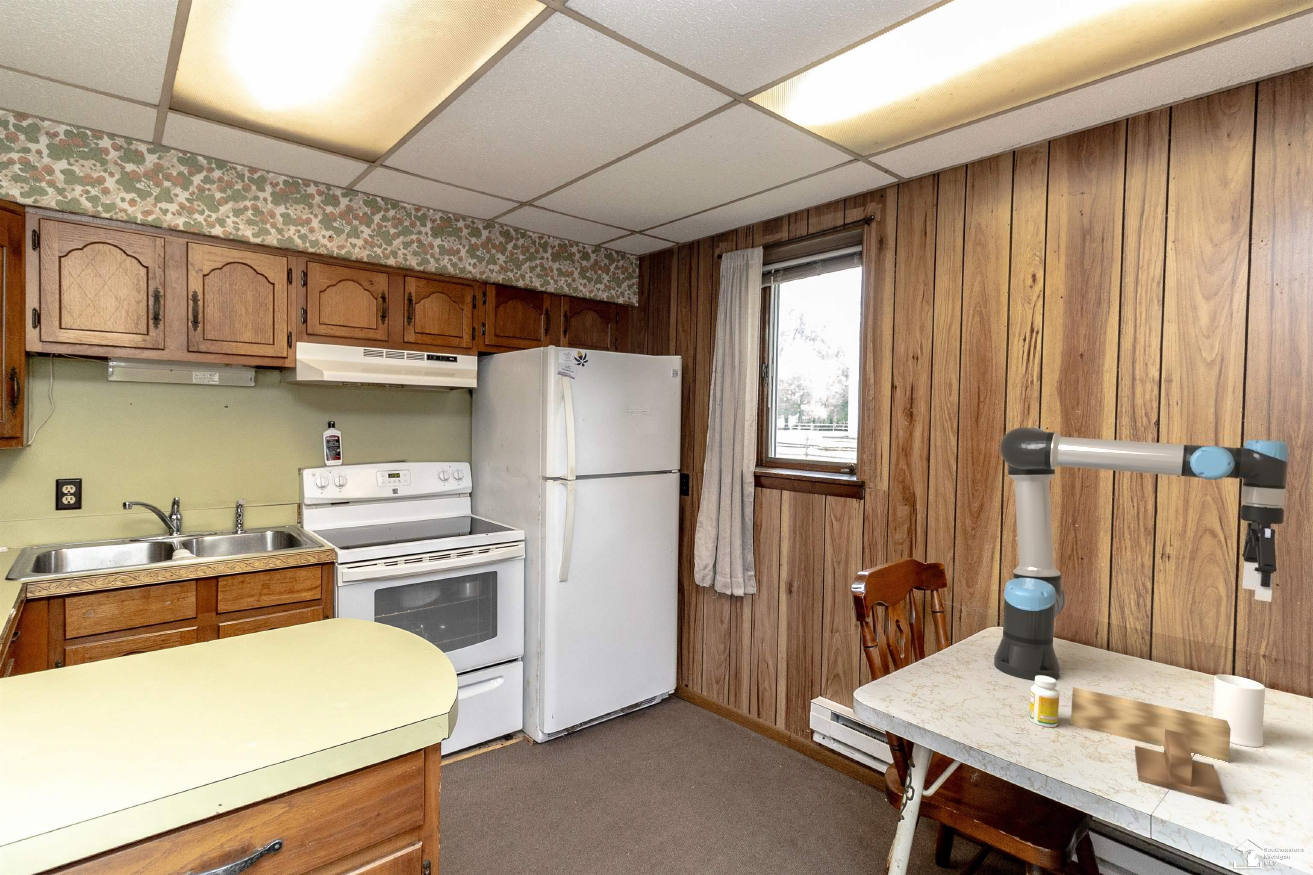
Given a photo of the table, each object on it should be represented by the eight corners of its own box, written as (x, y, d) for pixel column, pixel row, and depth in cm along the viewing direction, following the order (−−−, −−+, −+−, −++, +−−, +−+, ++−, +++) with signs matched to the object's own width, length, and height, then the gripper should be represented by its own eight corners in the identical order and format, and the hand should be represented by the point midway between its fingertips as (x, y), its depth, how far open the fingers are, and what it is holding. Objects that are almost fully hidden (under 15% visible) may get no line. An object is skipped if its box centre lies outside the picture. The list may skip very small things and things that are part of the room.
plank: (1070, 725, 142) (1072, 693, 142) (1071, 718, 146) (1073, 687, 146) (1228, 764, 127) (1230, 728, 127) (1224, 755, 131) (1226, 720, 131)
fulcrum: (1138, 780, 119) (1140, 747, 119) (1134, 750, 131) (1136, 720, 131) (1224, 803, 113) (1226, 769, 113) (1212, 770, 124) (1214, 738, 124)
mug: (1201, 719, 147) (1204, 666, 147) (1251, 729, 143) (1254, 674, 143) (1215, 740, 137) (1218, 683, 137) (1269, 751, 133) (1273, 693, 133)
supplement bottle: (1023, 719, 144) (1025, 675, 144) (1039, 715, 146) (1041, 672, 146) (1047, 729, 139) (1049, 684, 139) (1063, 725, 141) (1065, 681, 141)
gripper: (1299, 512, 143) (1292, 608, 143) (1270, 502, 164) (1264, 587, 164) (1253, 508, 147) (1246, 602, 147) (1231, 499, 168) (1225, 582, 168)
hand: (1256, 594), depth 156 cm, fingers open, 13 cm apart
